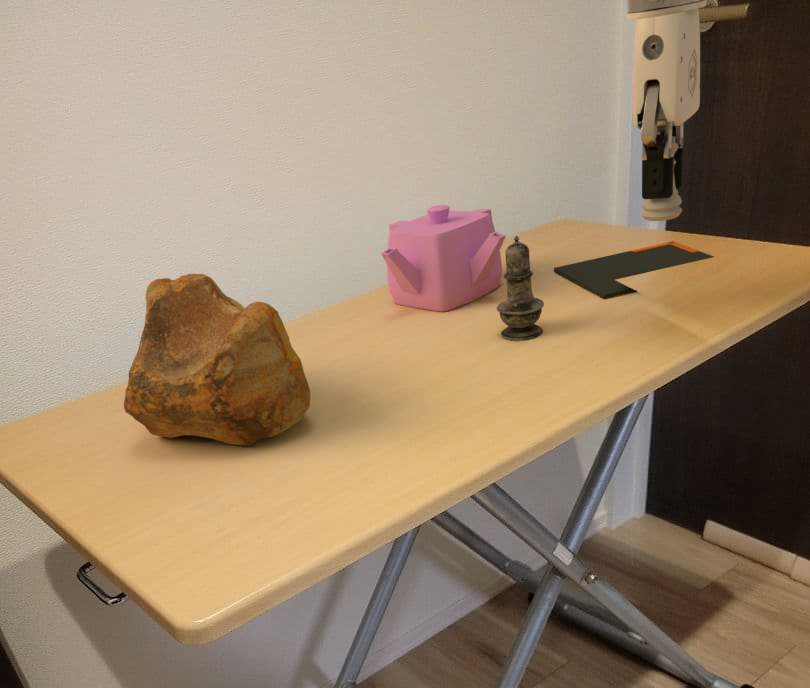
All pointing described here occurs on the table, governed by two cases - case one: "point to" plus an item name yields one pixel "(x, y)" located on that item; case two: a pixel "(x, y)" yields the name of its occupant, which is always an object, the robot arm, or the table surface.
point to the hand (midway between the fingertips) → (662, 191)
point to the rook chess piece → (663, 201)
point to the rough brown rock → (213, 366)
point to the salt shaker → (519, 296)
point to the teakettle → (443, 258)
